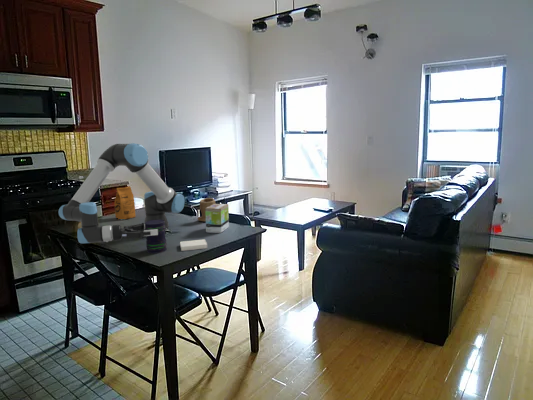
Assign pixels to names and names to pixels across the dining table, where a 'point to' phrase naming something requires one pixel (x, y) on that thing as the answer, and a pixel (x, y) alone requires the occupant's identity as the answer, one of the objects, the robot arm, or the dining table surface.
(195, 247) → the tile
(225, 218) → the tea box
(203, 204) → the stone cup
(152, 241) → the storage jar
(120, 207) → the coffee package
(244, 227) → the dining table surface
